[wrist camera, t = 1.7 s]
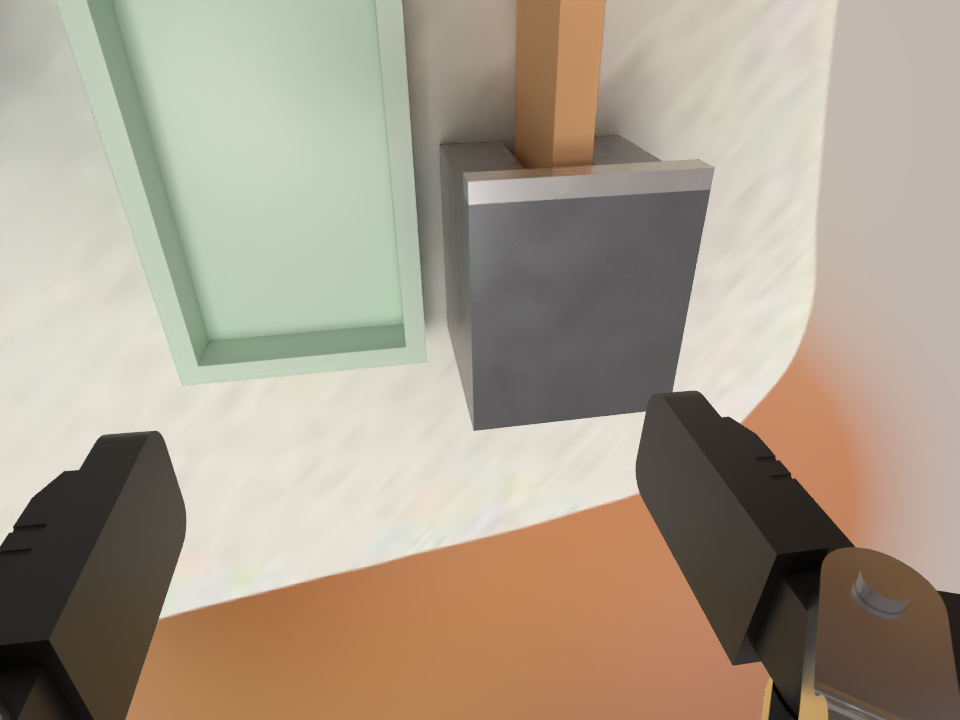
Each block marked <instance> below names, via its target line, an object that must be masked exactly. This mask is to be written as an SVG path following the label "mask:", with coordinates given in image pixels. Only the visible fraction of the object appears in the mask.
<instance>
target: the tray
mask: <svg viewBox="0 0 960 720" xmlns="http://www.w3.org/2000/svg"><path fill="white" fill-rule="evenodd" d="M56 3H57V6H58V9H59V13H60V16H61V19H62V22H63V25H64V28H65V31H66V34H67V37H68V40H69V43H70V46H71V49H72V52H73V55H74V58H75V61H76V64H77V67H78V70H79V73H80V76H81V79H82V83H83V86H84V89H85V92H86V95H87V98H88V101H89V104H90V107H91V110H92V113H93V116H94V119H95V122H96V125H97V128H98V131H99V134H100V137H101V140H102V143H103V146H104V149H105V153H106V156H107V159H108V162H109V165H110V168H111V171H112V174H113V177H114V180H115V183H116V186H117V189H118V192H119V195H120V198H121V201H122V204H123V207H124V210H125V213H126V216H127V219H128V223H129V226H130V229H131V232H132V235H133V238H134V241H135V244H136V247H137V250H138V253H139V256H140V259H141V262H142V265H143V268H144V271H145V274H146V277H147V280H148V283H149V286H150V289H151V293H152V296H153V299H154V302H155V305H156V308H157V311H158V314H159V317H160V320H161V323H162V326H163V329H164V332H165V335H166V338H167V341H168V344H169V347H170V350H171V353H172V356H173V359H174V363H175V366H176V369H177V372H178V375H179V378H180V381H181V384H182V386H186V385H197V384H207V383H217V382H227V381H238V380H248V379H258V378H269V377H279V376H289V375H300V374H310V373H320V372H330V371H341V370H351V369H361V368H372V367H382V366H392V365H403V364H413V363H423V362H427V355H426V340H425V326H424V311H423V297H422V282H421V268H420V253H419V239H418V224H417V210H416V196H415V181H414V167H413V152H412V138H411V123H410V109H409V94H408V80H407V65H406V51H405V36H404V22H403V8H402V0H56Z"/></svg>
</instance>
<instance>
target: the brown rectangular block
mask: <svg viewBox="0 0 960 720" xmlns="http://www.w3.org/2000/svg"><path fill="white" fill-rule="evenodd" d="M605 2H606V0H517V39H516V97H515V156H514V157H515V158H516V159H517V160H518V161H519V162H520V164H521V165H522V166H523V167H524V168H525V169H537V168H555V167H573V166H590V165H592V159H593V147H594V135H595V123H596V111H597V99H598V87H599V75H600V63H601V51H602V38H603V26H604V14H605Z"/></svg>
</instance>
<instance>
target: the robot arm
mask: <svg viewBox="0 0 960 720" xmlns="http://www.w3.org/2000/svg"><path fill="white" fill-rule="evenodd" d="M636 479H637V485H638V489H639V492H640V494H641V497H642V499H643V501H644V502H645V504H646V506H647V508H648V510H649V512H650V514H651V515H652V517H653V519H654V521H655V523H656V525H657V526H658V528H659V530H660V532H661V534H662V536H663V537H664V539H665V541H666V543H667V545H668V547H669V549H670V550H671V552H672V554H673V556H674V558H675V560H676V562H677V563H678V565H679V567H680V569H681V571H682V573H683V575H684V576H685V578H686V580H687V582H688V584H689V586H690V587H691V589H692V591H693V593H694V595H695V597H696V599H697V600H698V602H699V604H700V606H701V608H702V610H703V611H704V613H705V615H706V617H707V619H708V621H709V623H710V624H711V626H712V628H713V630H714V632H715V634H716V635H717V637H718V639H719V641H720V643H721V645H722V647H723V648H724V650H725V652H726V654H727V656H728V658H729V659H730V661H731V663H732V665H740V664H747V663H753V662H760V661H762V663H763V665H764V666H765V668H766V670H767V671H768V673H769V675H770V678H769V680H768V682H767V685H766V689H765V694H764V702H763V710H762V717H761V720H960V594H955V593H949V592H943V591H937V590H936V589H935V588H934V587H933V586H932V585H931V584H930V583H929V582H928V581H927V580H926V579H925V578H924V577H923V576H922V575H921V574H919V573H918V572H917V571H915V570H914V569H912V568H911V567H910V566H908V565H906V564H904V563H903V562H901V561H899V560H897V559H895V558H893V557H891V556H889V555H886V554H884V553H881V552H878V551H874V550H871V549H865V548H856V547H855V546H854V545H853V544H852V543H851V542H850V541H849V539H848V538H847V537H846V536H845V535H844V534H843V532H842V531H841V530H840V529H839V528H838V527H837V526H836V524H834V522H833V521H832V520H831V519H830V518H829V516H828V515H827V514H826V513H825V512H824V511H823V510H822V509H821V508H820V506H819V505H818V504H817V503H816V502H815V501H814V499H813V498H812V497H811V496H810V495H809V494H808V492H807V491H806V490H805V489H804V488H803V487H802V486H801V484H799V482H798V481H797V480H796V479H792V478H791V473H790V472H789V471H788V470H787V469H786V467H785V466H784V465H783V464H782V463H781V462H780V461H779V460H777V461H776V459H775V455H774V454H773V453H772V451H771V450H770V449H769V448H768V447H767V446H766V445H765V443H764V442H763V441H762V440H761V439H760V438H759V437H758V436H757V434H755V433H754V432H752V431H750V430H749V429H747V428H746V427H744V426H743V425H741V424H740V423H738V422H737V421H735V420H733V419H732V418H730V417H722V418H721V416H720V415H719V414H718V413H717V412H716V410H715V409H714V408H713V407H712V405H711V404H710V403H709V402H708V401H707V399H706V398H705V397H704V396H703V395H702V394H701V393H700V392H698V391H685V392H672V393H659V394H654V395H652V396H651V398H650V399H649V402H648V405H647V410H646V415H645V420H644V425H643V430H642V435H641V440H640V445H639V450H638V455H637V460H636ZM13 528H14V531H13V533H9V534H8V536H7V537H6V539H5V540H4V542H3V543H2V545H1V546H0V720H125V718H126V716H127V713H128V710H129V707H130V704H131V700H132V698H133V694H134V691H135V688H136V685H137V682H138V679H139V676H140V673H141V670H142V667H143V664H144V661H145V658H146V655H147V652H148V649H149V646H150V643H151V640H152V637H153V634H154V631H155V628H156V625H157V622H158V619H159V616H160V613H161V610H162V607H163V604H164V601H165V598H166V595H167V592H168V588H169V585H170V582H171V579H172V576H173V573H174V570H175V567H176V564H177V561H178V558H179V555H180V552H181V549H182V546H183V543H184V539H185V532H186V510H185V504H184V501H183V497H182V494H181V491H180V488H179V485H178V482H177V478H176V475H175V472H174V469H173V466H172V463H171V459H170V456H169V453H168V450H167V447H166V444H165V441H164V439H163V437H162V435H161V434H160V433H159V432H158V431H147V432H134V433H121V434H108V435H103V436H101V437H100V438H99V439H98V440H97V441H96V443H95V444H94V446H93V448H92V449H91V451H90V453H89V454H88V456H87V458H86V459H85V461H84V463H83V464H82V466H81V468H80V470H75V471H64V472H63V473H62V474H60V475H59V476H58V477H57V478H56V479H54V480H53V481H52V482H51V483H49V484H48V485H47V486H46V487H45V488H43V489H42V490H41V491H40V492H39V493H37V494H36V495H35V496H34V497H33V498H32V499H31V501H30V502H29V504H28V505H27V507H26V508H25V510H24V511H23V513H22V514H21V516H20V517H19V519H18V520H17V522H16V523H15V525H14V526H13Z"/></svg>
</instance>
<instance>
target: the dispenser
mask: <svg viewBox="0 0 960 720" xmlns="http://www.w3.org/2000/svg"><path fill="white" fill-rule="evenodd" d="M439 145H440V167H441V188H442V210H443V232H444V253H445V275H446V297H447V318H448V330H449V334H450V338H451V342H452V346H453V350H454V354H455V358H456V362H457V366H458V370H459V374H460V378H461V382H462V386H463V390H464V394H465V398H466V402H467V406H468V410H469V414H470V418H471V422H472V426H473V430H474V431H476V430H485V429H494V428H503V427H511V426H520V425H529V424H538V423H547V422H556V421H564V420H573V419H582V418H591V417H600V416H609V415H617V414H626V413H635V412H644V411H646V410H647V405H648V402H649V399H650V398H651V396H652V395H654V394H659V393H672V391H673V385H674V380H675V375H676V369H677V364H678V359H679V354H680V348H681V343H682V338H683V332H684V327H685V322H686V316H687V311H688V306H689V300H690V295H691V290H692V285H693V279H694V274H695V269H696V263H697V258H698V253H699V247H700V242H701V237H702V231H703V226H704V221H705V216H706V210H707V205H708V200H709V194H710V189H711V184H712V178H713V173H714V168H715V167H713V166H711V165H709V164H707V163H705V162H703V161H701V160H699V159H697V160H679V161H661V160H660V159H658V158H656V157H655V156H653V155H651V154H649V153H648V152H646V151H644V150H643V149H641V148H639V147H638V146H636V145H634V144H633V143H631V142H629V141H627V140H626V139H624V138H622V137H621V136H619V135H618V136H598V137H594V147H593V159H592V165H590V166H573V167H555V168H537V169H525V168H524V167H523V166H522V165H521V164H520V162H519V161H518V160H517V159H516V158H515V157H514V156H513V155H512V153H511V152H510V151H509V150H508V149H507V148H506V147H505V145H504V144H503V143H502V142H501V141H498V142H478V143H458V144H439Z"/></svg>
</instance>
